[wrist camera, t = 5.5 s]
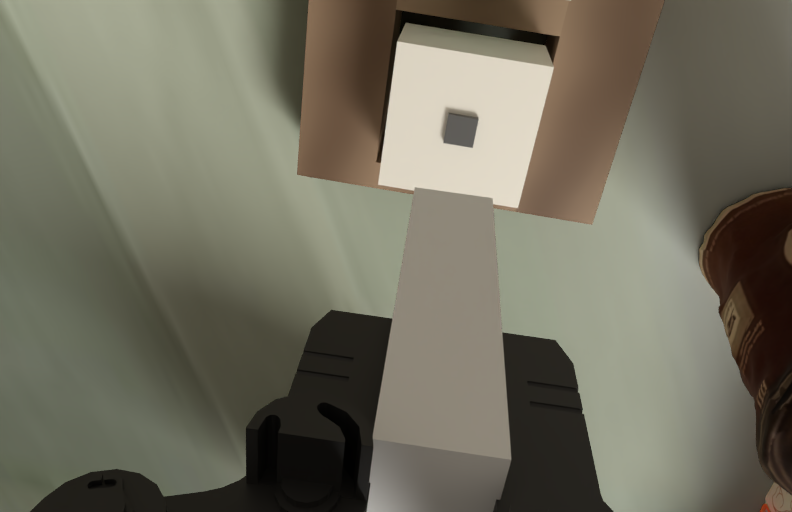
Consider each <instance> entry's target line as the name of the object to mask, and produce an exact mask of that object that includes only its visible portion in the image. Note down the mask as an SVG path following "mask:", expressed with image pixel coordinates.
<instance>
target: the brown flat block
mask: <svg viewBox="0 0 792 512" xmlns="http://www.w3.org/2000/svg"><path fill="white" fill-rule="evenodd" d="M664 1H665V0H571V1H569V0H309V3H308V18H307V33H306V48H305V63H304V78H303V93H302V109H301V124H300V139H299V154H298V169H297V175H302V176H308V177H314V178H320V179H326V180H332V181H337V182H343V183H349V184H355V185H361V186H367V187H373V188H379V189H385V190H391V191H397V192H402V193H408V194H414V191H413V190H407V189H401V188H395V187H389V186H383V185H378V181H379V174H380V166H381V159H382V151H383V144H384V137H385V129H386V122H387V114H388V107H389V99H390V92H391V84H392V77H393V70H394V62H395V55H396V47H397V41H398V39H399V31H400V24H401V17H402V11H408V12H414V13H420V14H426V15H432V16H438V17H444V18H450V19H456V20H463V21H469V22H475V23H481V24H487V25H493V26H499V27H505V28H511V29H517V30H524V31H530V32H536V33H542V34H547V38H546V42H545V46H546V48H547V51H548V53H549V56H550V58H551V61H552V63H553V66H554V69H553V73H552V77H551V81H550V85H549V89H548V93H547V97H546V100H545V104H544V108H543V112H542V116H541V120H540V124H539V128H538V132H537V136H536V139H535V143H534V147H533V151H532V155H531V159H530V163H529V167H528V171H527V175H526V179H525V182H524V186H523V190H522V194H521V198H520V202H519V206H518V208H513V207H507V206H501V205H495V204H493V208H497V209H503V210H509V211H515V212H521V213H526V214H532V215H538V216H544V217H550V218H556V219H562V220H568V221H574V222H580V223H586V224H591V225H592V223H593V220H594V217H595V214H596V211H597V208H598V205H599V202H600V199H601V196H602V193H603V189H604V186H605V183H606V180H607V177H608V174H609V171H610V168H611V165H612V162H613V159H614V155H615V152H616V149H617V146H618V143H619V140H620V137H621V134H622V131H623V128H624V125H625V122H626V118H627V115H628V112H629V109H630V106H631V103H632V100H633V97H634V94H635V91H636V88H637V85H638V81H639V78H640V75H641V72H642V69H643V66H644V63H645V60H646V57H647V54H648V51H649V47H650V44H651V41H652V38H653V35H654V32H655V29H656V26H657V23H658V20H659V17H660V14H661V10H662V7H663V4H664Z"/></svg>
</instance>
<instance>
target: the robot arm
mask: <svg viewBox="0 0 792 512" xmlns="http://www.w3.org/2000/svg"><path fill="white" fill-rule="evenodd" d="M582 410H583V408H582V403H581V399H580V394H579V393H578V384H577V380H576V375H575V370H574V365H573V363H572V361H571V360H570V359H569V357H568V356H567V355H566V354H565V352H564V351H563V350H562V348H561V347H560V346H559V344H558V343H557V342H556V340H550V339H543V338H537V337H530V336H523V335H516V334H509V333H502V322H501V308H500V294H499V280H498V266H497V252H496V238H495V224H494V211H493V198H489V197H481V196H474V195H467V194H460V193H453V192H446V191H438V190H431V189H424V188H417V187H415V189H414V195H413V201H412V207H411V213H410V218H409V224H408V230H407V236H406V242H405V248H404V254H403V260H402V266H401V272H400V278H399V283H398V289H397V295H396V301H395V307H394V313H393V319H390V318H383V317H376V316H369V315H363V314H356V313H349V312H342V311H335V310H331V311H330V312H328V313H327V314H326V315H325V316H324V317H323V318H322V319H321V320H320V321H318V322H317V323H316V324H315V325H314V326H313V327H312V328H311V331H310V334H309V337H308V340H307V342H306V345H305V348H304V353H303V355H302V357H301V360H300V363H299V366H298V369H297V374H296V375H295V378H294V380H293V383H292V386H291V389H290V392H289V395H288V396H287V397H283V398H280V399H276V400H274V401H273V402H271V403H270V404H268V405H267V406H265V407H264V408H262V409H260V410H259V411H257V413H256V414H255V416H254V417H253V419H252V420H251V422H250V423H249V424H248V426H247V427H246V476H245V477H244V478H242V479H241V480H239V481H237V482H234V483H232V484H230V485H227V486H225V487H223V488H218V489H214V490H209V491H205V492H198V493H190V494H182V495H174V496H166V497H163V495H162V493H161V491H160V490H159V488H158V486H157V484H155V483H154V482H152V481H150V480H149V479H147V478H146V477H144V476H143V475H141V474H140V473H135V472H129V471H124V470H119V469H114V470H105V471H97V472H90V473H88V474H85V475H83V476H80V477H78V478H75V479H73V480H70V481H68V482H65V483H64V484H63V485H61V486H60V487H58V488H57V489H56V490H54V491H53V492H52V493H50V494H49V495H48V496H46V497H45V498H44V499H43V500H42V501H41V502H40V503H38V504H37V505H36V506H35V507H34V508H33V509H32V510H31V511H30V512H613V511H612V510H611V508H610V507H609V506H608V505H607V504H606V503H605V502H603V499H602V496H601V494H600V489H599V484H598V479H597V475H596V470H595V465H594V460H593V456H592V451H591V446H590V441H589V437H588V432H587V427H586V422H585V418H584V414H582Z"/></svg>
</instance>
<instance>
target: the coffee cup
mask: <svg viewBox="0 0 792 512" xmlns="http://www.w3.org/2000/svg"><path fill="white" fill-rule="evenodd" d="M699 254H700V257H699V265H700V268H701V271H702V274H703V275H704V277H705V279H706V280H707V282H708V283H709V284H710V286H711V287H712V288H713V289H714V291H715V292H716V293H717V295H718V296H719V298H720V306H719V314H720V317H721V319H722V321H723V323H724V327H725V332H726V335H727V337H728V340H729V343H730V346H731V351H732V356H733V358H734V359H735V361H736V363H737V365H738V367H739V370H740V375H741V378H742V381H743V383H744V385H745V386H746V388H747V390H748V391H749V393H750V395H751V396H752V397H753V398H754V401H755V409H756V447H757V452H758V457H759V462H760V465H761V467H762V468H763V470H764V472H765V473H766V475H767V476H768V477H769V478H770V479H771V480H772V481H774V482H775V483H776V484H778V485H779V486H780V487H781V488H783V489H784V490H785V491H786V492H788V493H789V494H790V495H791V496H792V188H783V189H777V190H772V191H767V192H760V193H756V194H753V195H751V196H750V197H748V198H746V199H745V200H742V201H740V202H738V203H735V204H734V205H731V206H728V207H727V208H726V209H724V210H723V211H722V212H721V213H720V215H719V216H718V217H717V219H716V221H715V223H714V225H713V226H712V227H711V228H710V229H709V230H707V232H706V234H705V235H704V243H703V244H702V245H701V247H700V249H699Z"/></svg>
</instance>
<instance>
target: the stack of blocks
mask: <svg viewBox="0 0 792 512" xmlns="http://www.w3.org/2000/svg"><path fill="white" fill-rule="evenodd" d="M760 512H792V496H791V495H790V494H789V493H788V492H786V491H785V490H784V489H783V488H781V487H780V486H779V485H778V484H776V483H775V482H774V483H773V485H772V486H771V488H770V490H769V492H768V493H767V495H766V497H765V503H764V504H763V505H762V508H761V510H760Z"/></svg>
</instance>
